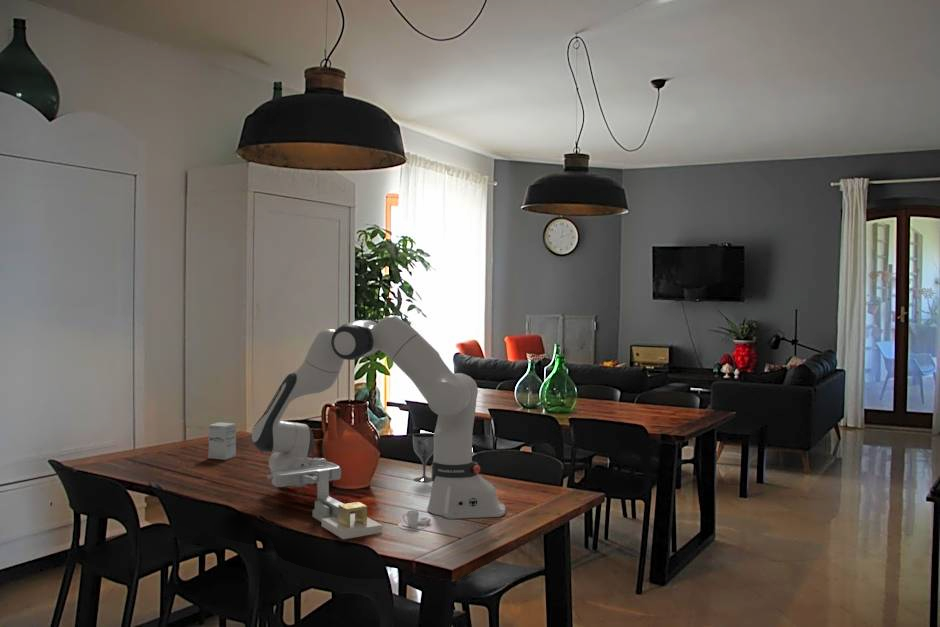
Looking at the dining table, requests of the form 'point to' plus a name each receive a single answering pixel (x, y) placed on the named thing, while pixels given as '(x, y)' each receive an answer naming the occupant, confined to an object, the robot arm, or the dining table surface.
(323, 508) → the grey blocky piece
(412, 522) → the teacup and saucer
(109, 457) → the dining table surface
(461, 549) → the dining table surface
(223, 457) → the supplement box
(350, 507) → the block
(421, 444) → the wine glass
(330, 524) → the white base plate
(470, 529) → the dining table surface
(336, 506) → the grey l-shaped piece
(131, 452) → the dining table surface
